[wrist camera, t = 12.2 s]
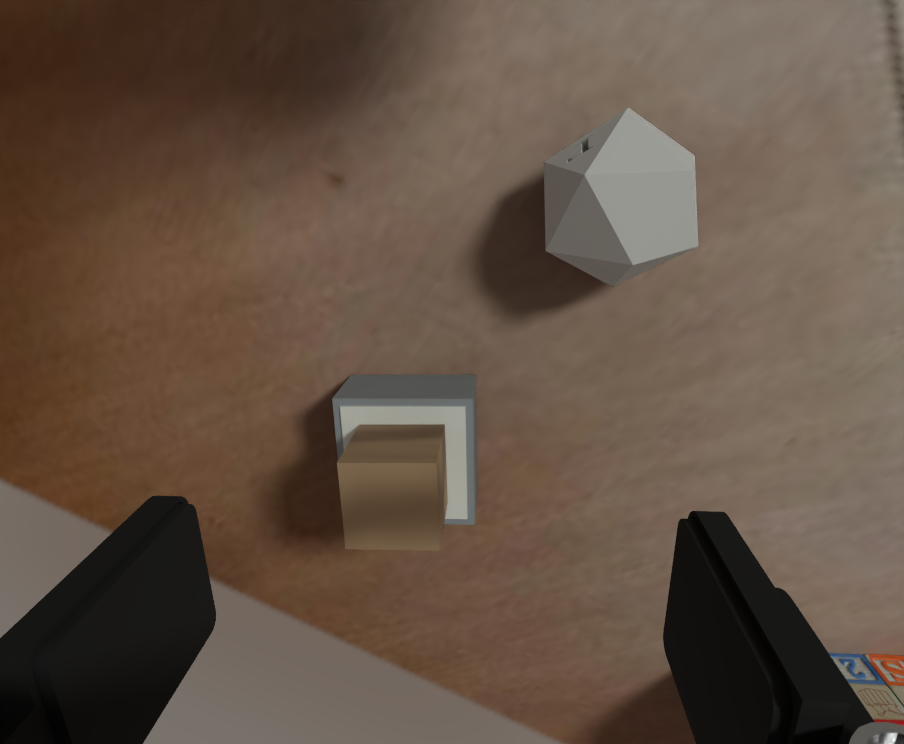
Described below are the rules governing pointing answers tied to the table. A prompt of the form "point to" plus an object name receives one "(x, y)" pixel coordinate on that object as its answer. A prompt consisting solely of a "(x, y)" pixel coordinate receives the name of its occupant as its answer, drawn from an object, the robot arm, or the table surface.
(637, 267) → the die
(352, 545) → the walnut cube
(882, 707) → the stack of blocks
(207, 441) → the table surface
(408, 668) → the table surface
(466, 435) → the block
